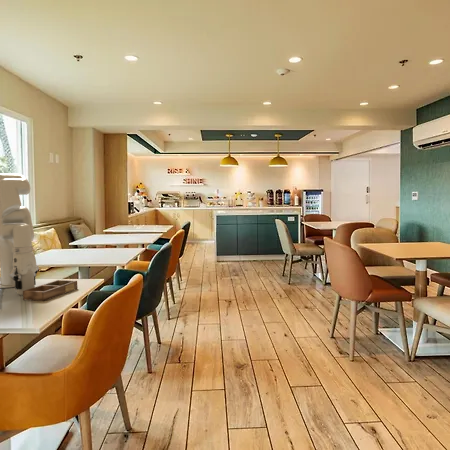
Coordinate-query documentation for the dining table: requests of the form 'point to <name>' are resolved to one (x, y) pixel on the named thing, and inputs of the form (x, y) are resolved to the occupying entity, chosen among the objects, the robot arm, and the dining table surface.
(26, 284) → the can
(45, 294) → the tray
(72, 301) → the dining table surface
